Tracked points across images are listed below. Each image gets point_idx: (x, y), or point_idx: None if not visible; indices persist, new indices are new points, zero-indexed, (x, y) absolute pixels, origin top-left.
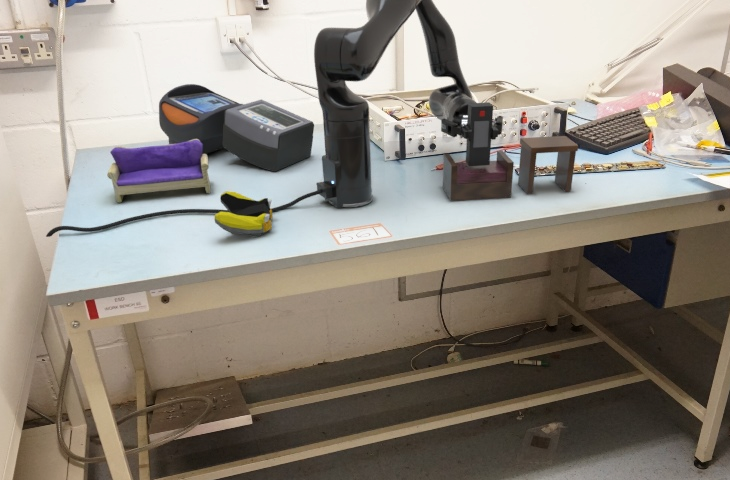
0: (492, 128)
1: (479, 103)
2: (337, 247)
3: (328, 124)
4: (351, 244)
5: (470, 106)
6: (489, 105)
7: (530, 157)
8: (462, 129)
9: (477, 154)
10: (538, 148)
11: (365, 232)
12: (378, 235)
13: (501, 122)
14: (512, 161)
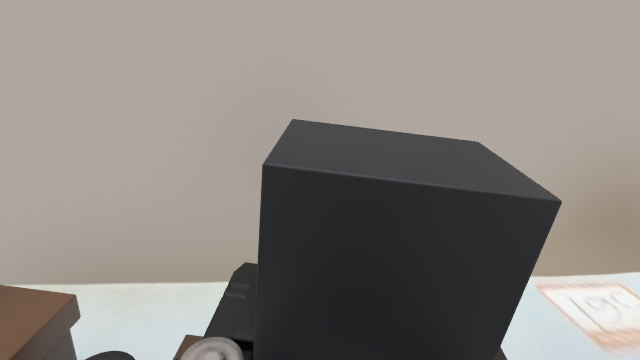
0: None
1: (405, 167)
2: (614, 277)
3: None
4: (596, 280)
5: (496, 162)
6: (318, 126)
7: (70, 346)
8: (501, 351)
9: None
10: (38, 293)
11: (605, 314)
12: (567, 296)
13: (97, 356)
14: (183, 344)
